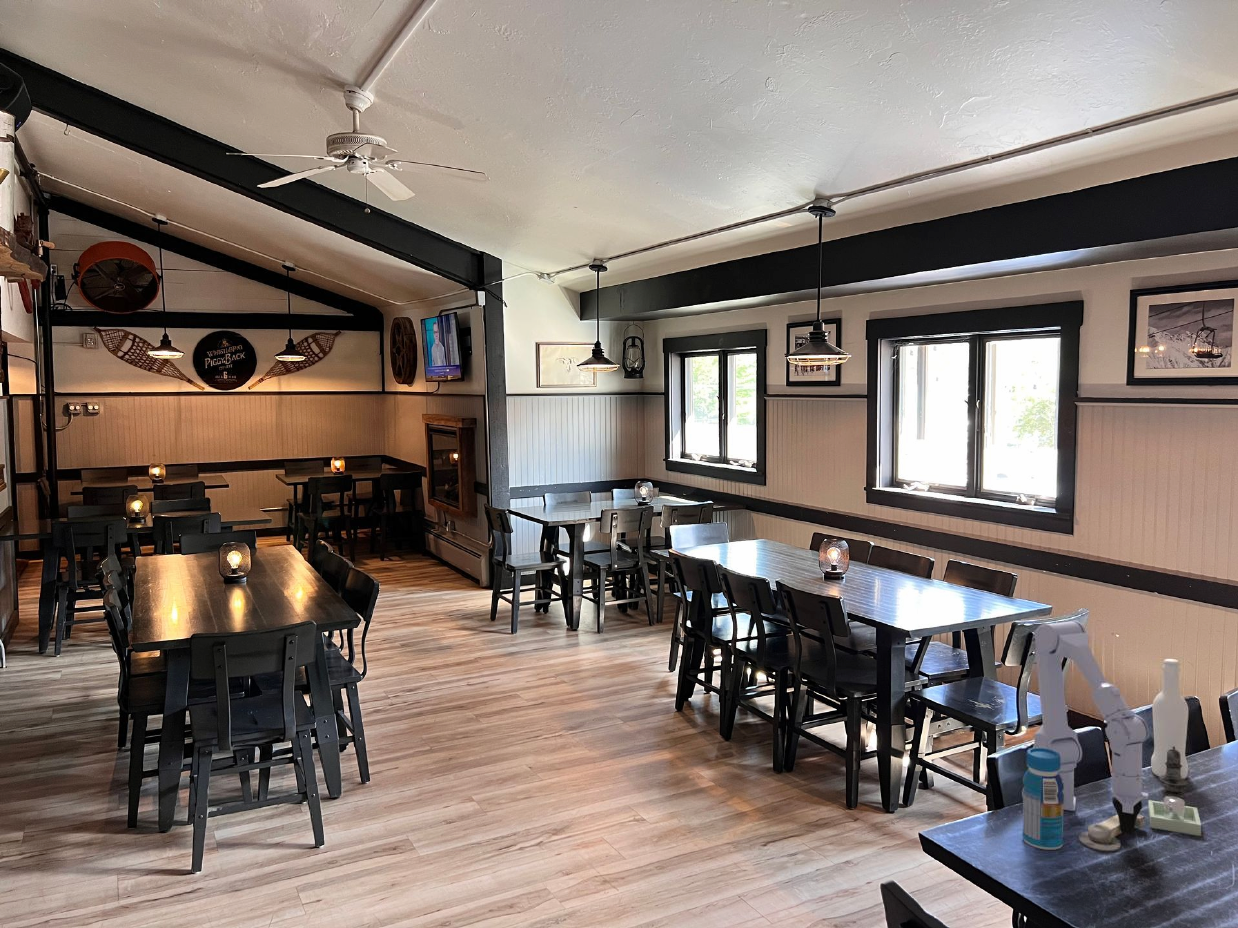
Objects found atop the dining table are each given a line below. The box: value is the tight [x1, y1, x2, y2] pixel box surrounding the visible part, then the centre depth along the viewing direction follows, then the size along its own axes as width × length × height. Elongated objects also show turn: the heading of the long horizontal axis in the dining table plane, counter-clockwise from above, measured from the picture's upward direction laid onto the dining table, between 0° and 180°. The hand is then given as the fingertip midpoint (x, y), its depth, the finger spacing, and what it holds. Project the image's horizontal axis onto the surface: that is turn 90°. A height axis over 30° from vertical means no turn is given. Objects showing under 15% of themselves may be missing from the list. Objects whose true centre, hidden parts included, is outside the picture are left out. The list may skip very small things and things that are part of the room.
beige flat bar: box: [1087, 813, 1145, 843], centre depth 200 cm, size 16×5×2 cm, turn 123°
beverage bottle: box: [1021, 747, 1065, 851], centre depth 197 cm, size 8×8×20 cm
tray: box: [1147, 799, 1202, 837], centre depth 205 cm, size 10×10×2 cm
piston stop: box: [1163, 796, 1186, 821], centre depth 205 cm, size 4×4×5 cm
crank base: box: [1078, 830, 1121, 852], centre depth 197 cm, size 8×8×1 cm
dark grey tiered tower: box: [1158, 746, 1188, 800], centre depth 220 cm, size 6×6×12 cm
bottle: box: [1150, 658, 1189, 780], centre depth 231 cm, size 8×8×30 cm
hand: (1126, 832), depth 198 cm, fingers closed, pressing on beige flat bar
